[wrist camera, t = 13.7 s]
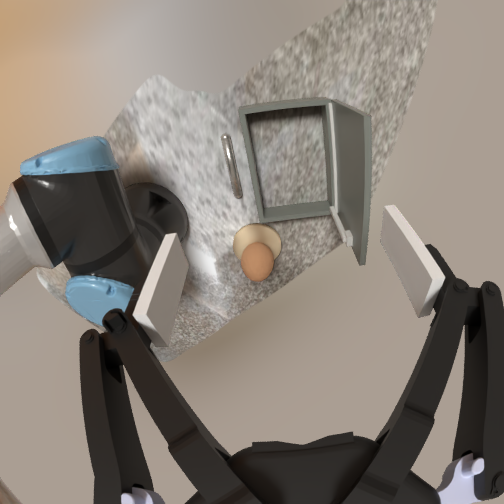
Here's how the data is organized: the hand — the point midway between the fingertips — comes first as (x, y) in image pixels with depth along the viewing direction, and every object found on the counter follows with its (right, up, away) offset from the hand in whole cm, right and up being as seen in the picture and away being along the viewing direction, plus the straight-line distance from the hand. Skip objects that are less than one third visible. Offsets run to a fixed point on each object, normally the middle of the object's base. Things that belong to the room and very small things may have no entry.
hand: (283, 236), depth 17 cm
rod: (-5, +13, +27) cm, 30 cm away
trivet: (-1, +1, +36) cm, 36 cm away
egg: (-1, 0, +35) cm, 35 cm away
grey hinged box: (+4, +14, +25) cm, 29 cm away
